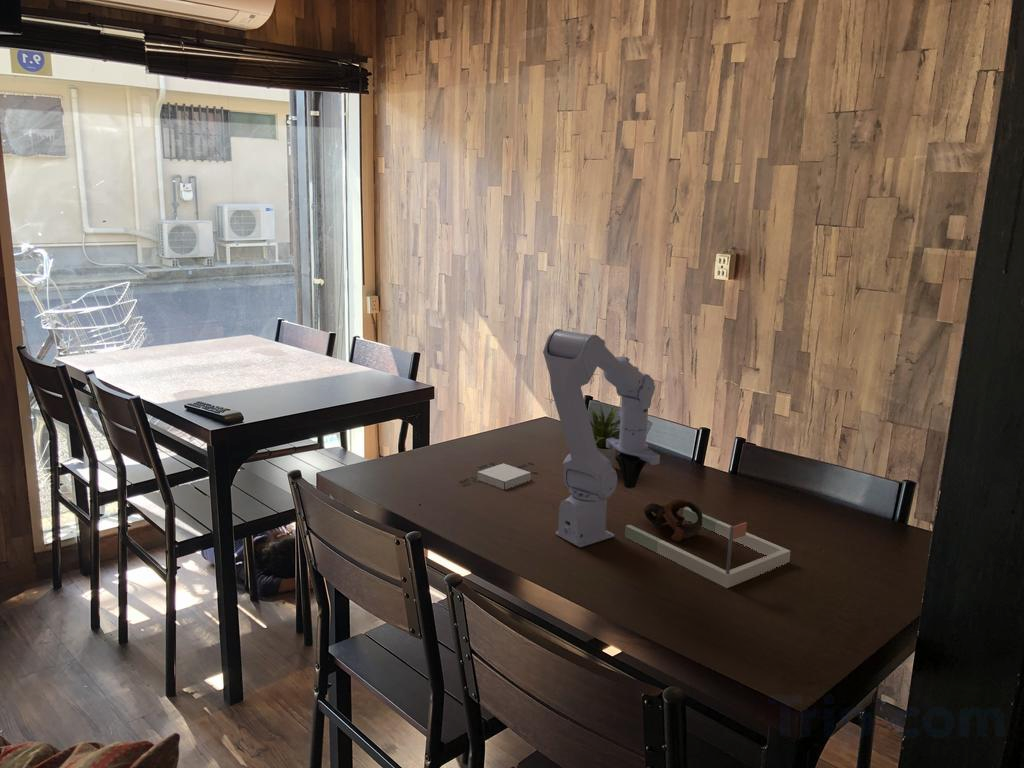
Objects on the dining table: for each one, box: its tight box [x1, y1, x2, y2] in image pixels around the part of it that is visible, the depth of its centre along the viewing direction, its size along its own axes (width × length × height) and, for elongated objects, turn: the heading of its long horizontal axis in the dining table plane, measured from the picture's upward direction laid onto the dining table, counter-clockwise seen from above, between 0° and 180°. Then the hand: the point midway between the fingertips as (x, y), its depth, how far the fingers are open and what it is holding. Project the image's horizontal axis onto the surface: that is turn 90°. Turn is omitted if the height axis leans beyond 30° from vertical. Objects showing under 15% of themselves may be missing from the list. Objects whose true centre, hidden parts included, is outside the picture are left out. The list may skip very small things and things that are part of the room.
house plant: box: [589, 405, 621, 467], centre depth 202 cm, size 14×14×16 cm
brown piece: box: [643, 498, 703, 543], centre depth 166 cm, size 12×10×8 cm
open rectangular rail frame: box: [624, 506, 791, 589], centre depth 158 cm, size 18×26×12 cm
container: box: [458, 462, 535, 491], centre depth 196 cm, size 20×12×3 cm, turn 137°
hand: (630, 486), depth 175 cm, fingers closed
